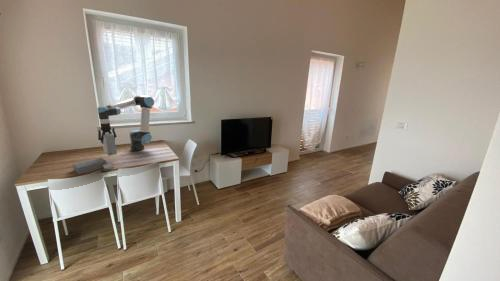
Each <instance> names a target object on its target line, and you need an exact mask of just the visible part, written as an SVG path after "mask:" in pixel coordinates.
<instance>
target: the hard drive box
mask: <svg viewBox="0 0 500 281" xmlns="http://www.w3.org/2000/svg"><path fill="white" fill-rule="evenodd" d="M101 136H102V132H101ZM103 137H104V138H103V140H104V143H105V147H104V146H103V145H102V148H103V153H104V154H106V155H107V156H108V157H109V156H114V155H117V154H118V151H117V147H116V146H117V145H116V138H115V139H114V134H113V133H112V134H110V133H109V132H107V133H105V135H103Z"/></svg>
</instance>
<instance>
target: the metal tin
mask: <svg viewBox="0 0 500 281" xmlns="http://www.w3.org/2000/svg"><path fill="white" fill-rule="evenodd" d="M102 169H103V171H106V172H107V171H108V172H109V171H111V170H113V164H112V162H106V163H105V164H103V168H102Z"/></svg>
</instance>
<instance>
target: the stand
mask: <svg viewBox="0 0 500 281" xmlns="http://www.w3.org/2000/svg"><path fill="white" fill-rule="evenodd" d="M105 163H107V160H105V159H104V158H102V157H97V158H93V159H92V158H91V159H87V160H84V161H80V162H76V163H72V164H71V165H72V170H73V171H74V172H76V174H78V175H83V174H86V173H89V172H93V171H96V170H97V171H98V170H100V169H103V164H105Z"/></svg>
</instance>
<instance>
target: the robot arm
mask: <svg viewBox="0 0 500 281" xmlns="http://www.w3.org/2000/svg"><path fill="white" fill-rule="evenodd" d="M154 105H155V100H154V98H153V97H152V96H150V95H141V94H140V95H136V96H132V97H129V98H128V99H125V100H121V101H118V102H116V103H112V104H108V105H105V106H104V105H101V106H98V107H97V113H98V118H99V123H100V129H97V132H98V133H97V135H98V136H97V139H98V140H99V141H100V142H101V144H102V147H103V146H104V147H105V143H104V140H103V138H104V137H103V135H105V133H107V132H109V133H110V134H113V135H114V139H115V140H116V138H117V137H118V136H117V134H116V131H115V127H111V123H110V117H111V116H118V115H121V113H122V111H121V110H123V109H127V108H129V107H135V106H139V107H140V109H141V116H140V129H135V130H131V131H130V132H129V139H130V143H131V144H130V148H129V151H131V152H140V151H143V150H144V149H145V146H144V144H149V143H150V142H151V141H152V139H153V135H152V134H151V131H150V130H149V128H150V116H151V115H150V114H151V109H152V108H153V106H154ZM101 133H102V136H101Z"/></svg>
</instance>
